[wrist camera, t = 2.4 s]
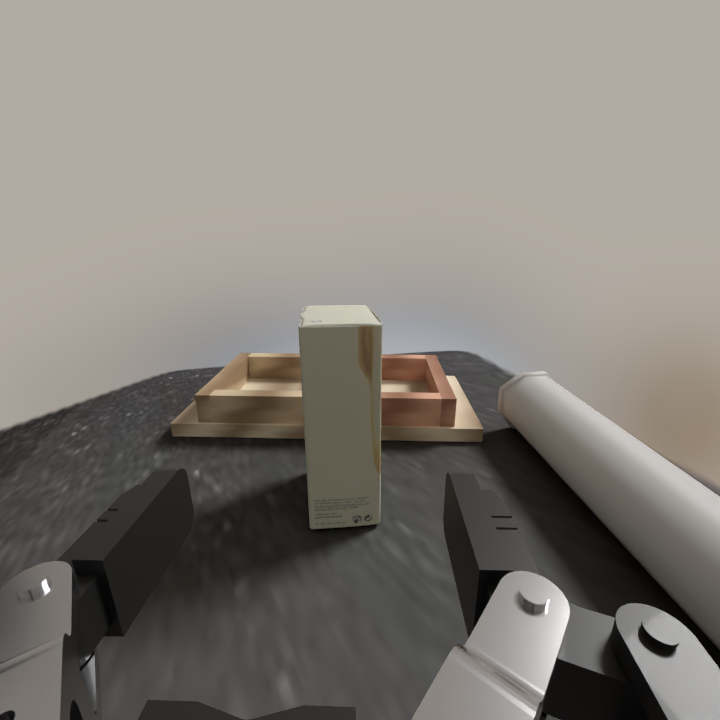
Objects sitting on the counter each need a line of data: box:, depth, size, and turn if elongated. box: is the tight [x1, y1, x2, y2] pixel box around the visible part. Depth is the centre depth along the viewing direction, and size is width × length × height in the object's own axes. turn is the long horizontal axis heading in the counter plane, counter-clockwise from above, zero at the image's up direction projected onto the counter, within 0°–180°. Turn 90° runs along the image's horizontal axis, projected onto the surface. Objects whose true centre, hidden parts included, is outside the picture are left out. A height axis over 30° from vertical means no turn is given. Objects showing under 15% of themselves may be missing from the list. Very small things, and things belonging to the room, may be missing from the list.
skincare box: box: [299, 305, 383, 529], centre depth 23 cm, size 6×4×12 cm
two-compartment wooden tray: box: [170, 353, 484, 442], centre depth 37 cm, size 26×12×4 cm, turn 88°
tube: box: [497, 371, 720, 650], centre depth 22 cm, size 5×5×25 cm
